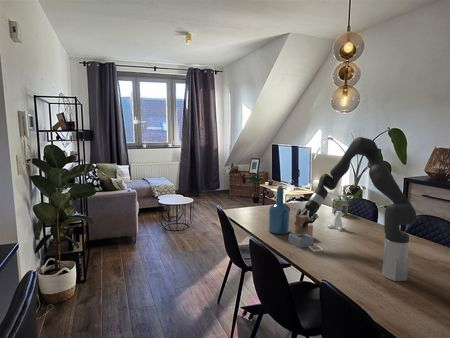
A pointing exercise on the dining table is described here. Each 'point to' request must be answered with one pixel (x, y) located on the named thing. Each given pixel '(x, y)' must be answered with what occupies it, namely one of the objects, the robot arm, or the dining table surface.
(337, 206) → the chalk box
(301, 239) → the plinth
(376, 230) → the dining table surface
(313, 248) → the tile
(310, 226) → the terracotta block
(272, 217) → the wine bottle
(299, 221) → the walnut block
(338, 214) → the white creature statuette
